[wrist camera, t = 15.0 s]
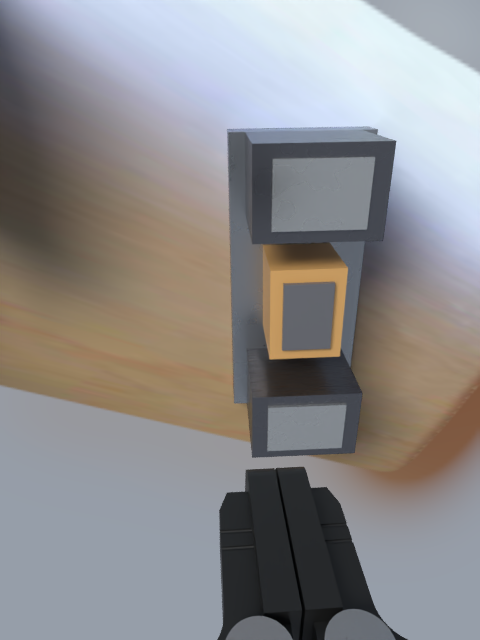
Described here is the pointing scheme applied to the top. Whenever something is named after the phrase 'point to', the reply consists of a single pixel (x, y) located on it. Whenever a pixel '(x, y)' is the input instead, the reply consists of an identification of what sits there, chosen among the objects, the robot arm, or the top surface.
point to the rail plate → (301, 228)
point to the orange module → (303, 300)
